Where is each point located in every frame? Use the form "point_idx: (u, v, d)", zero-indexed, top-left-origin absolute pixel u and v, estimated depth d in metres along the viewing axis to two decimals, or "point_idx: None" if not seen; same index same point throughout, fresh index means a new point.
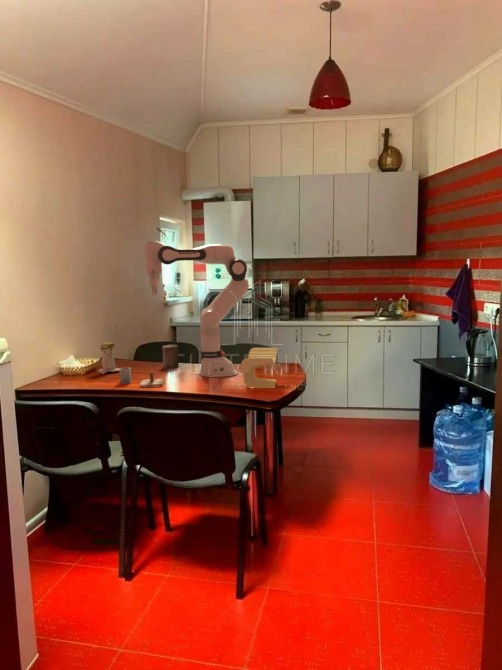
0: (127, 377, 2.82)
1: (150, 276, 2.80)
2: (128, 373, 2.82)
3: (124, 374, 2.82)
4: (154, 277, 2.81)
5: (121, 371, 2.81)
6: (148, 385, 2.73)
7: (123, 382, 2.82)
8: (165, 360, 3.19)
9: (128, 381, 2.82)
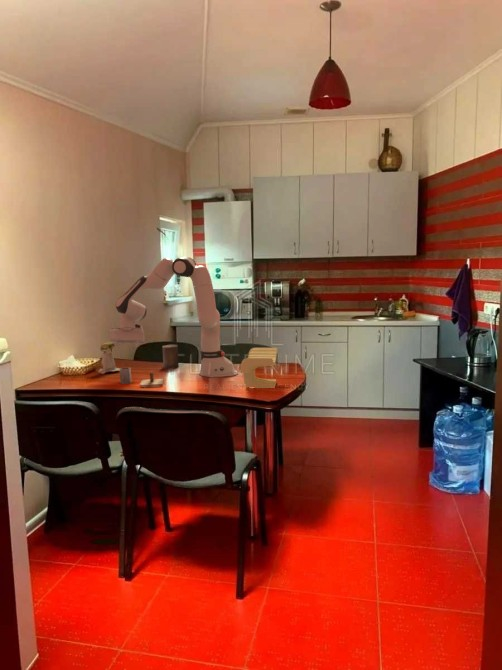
0: (127, 377, 2.82)
1: None
2: (128, 373, 2.82)
3: (124, 374, 2.82)
4: (110, 332, 2.97)
5: (121, 371, 2.81)
6: (148, 385, 2.73)
7: (123, 382, 2.82)
8: (165, 360, 3.19)
9: (128, 381, 2.82)
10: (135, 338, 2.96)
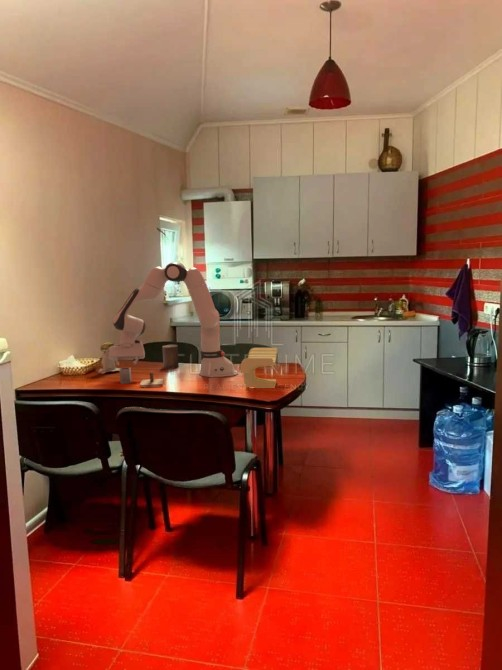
0: (127, 377, 2.82)
1: None
2: (128, 373, 2.82)
3: (124, 374, 2.82)
4: None
5: (121, 371, 2.81)
6: (148, 385, 2.73)
7: (123, 382, 2.82)
8: (165, 360, 3.19)
9: (128, 381, 2.82)
10: (134, 354, 2.91)
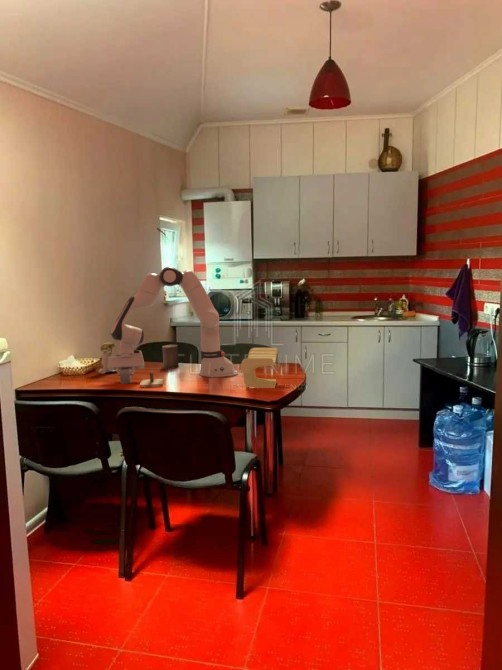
0: (127, 377, 2.82)
1: None
2: (128, 373, 2.82)
3: (124, 374, 2.82)
4: None
5: (121, 371, 2.81)
6: (148, 385, 2.73)
7: (123, 382, 2.82)
8: (165, 360, 3.19)
9: (128, 381, 2.82)
10: (134, 364, 2.86)
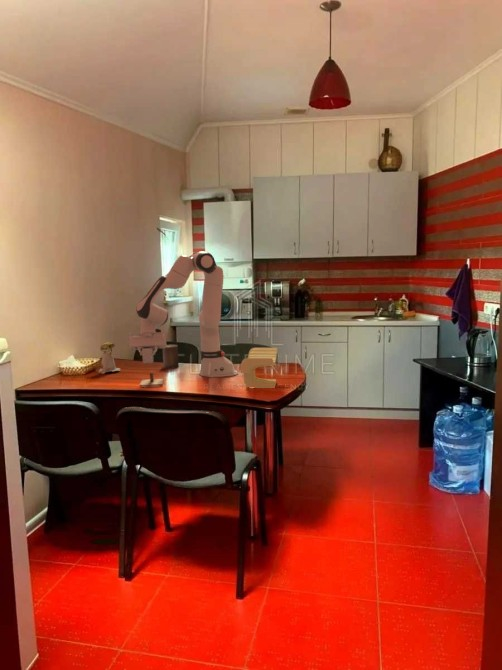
0: (149, 356, 2.76)
1: None
2: (150, 353, 2.76)
3: (146, 353, 2.75)
4: None
5: (143, 350, 2.75)
6: (148, 385, 2.73)
7: (145, 361, 2.76)
8: (165, 360, 3.19)
9: (150, 360, 2.76)
10: (156, 343, 2.80)
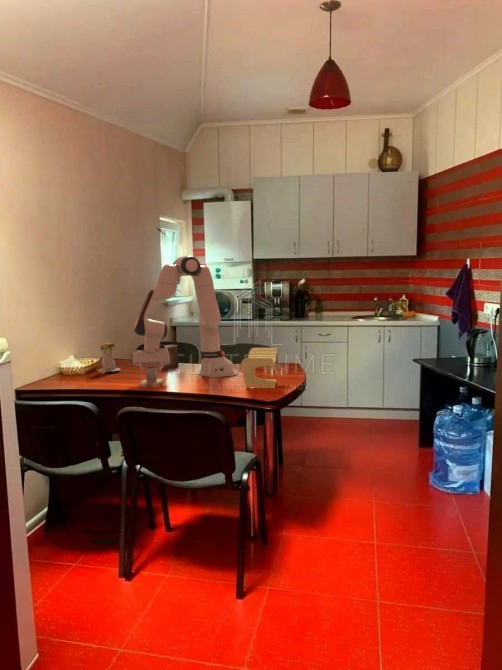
0: (153, 376, 2.76)
1: None
2: (155, 372, 2.76)
3: (150, 373, 2.76)
4: (134, 355, 2.82)
5: (147, 370, 2.76)
6: (148, 385, 2.73)
7: (149, 381, 2.77)
8: None
9: (154, 380, 2.77)
10: (160, 360, 2.80)
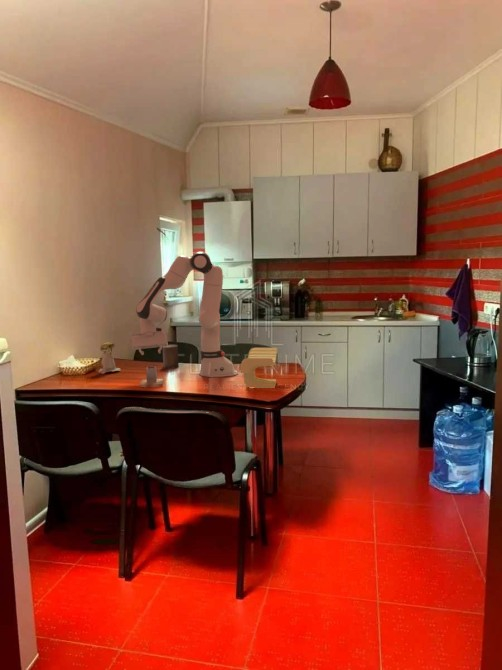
0: (153, 376, 2.76)
1: None
2: (155, 372, 2.76)
3: (150, 373, 2.76)
4: (132, 339, 2.90)
5: (147, 370, 2.76)
6: (148, 385, 2.73)
7: (149, 381, 2.77)
8: (165, 360, 3.19)
9: (154, 380, 2.77)
10: (158, 342, 2.90)
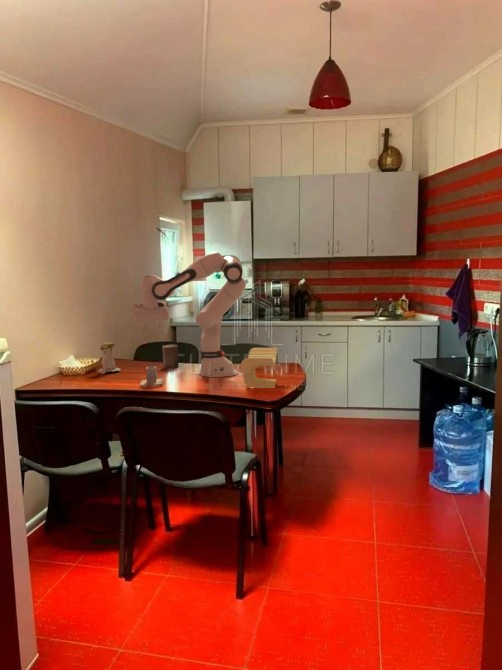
0: (153, 376, 2.76)
1: None
2: (155, 372, 2.76)
3: (150, 373, 2.76)
4: None
5: (147, 370, 2.76)
6: (148, 385, 2.73)
7: (149, 381, 2.77)
8: (165, 360, 3.19)
9: (154, 380, 2.77)
10: (159, 318, 2.88)
